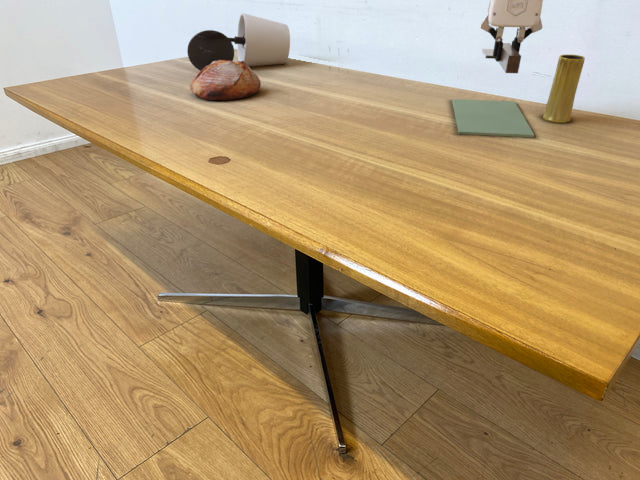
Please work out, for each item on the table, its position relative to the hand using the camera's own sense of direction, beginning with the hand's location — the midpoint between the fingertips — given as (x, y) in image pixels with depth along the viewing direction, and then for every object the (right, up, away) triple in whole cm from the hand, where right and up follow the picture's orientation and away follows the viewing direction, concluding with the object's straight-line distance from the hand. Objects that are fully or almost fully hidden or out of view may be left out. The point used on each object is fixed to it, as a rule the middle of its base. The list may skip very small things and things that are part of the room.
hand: (504, 59), depth 107 cm
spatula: (0, 0, +1) cm, 1 cm away
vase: (+16, -11, +9) cm, 22 cm away
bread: (-68, +2, +32) cm, 75 cm away
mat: (0, -10, +11) cm, 15 cm away
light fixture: (-68, +20, +60) cm, 93 cm away
